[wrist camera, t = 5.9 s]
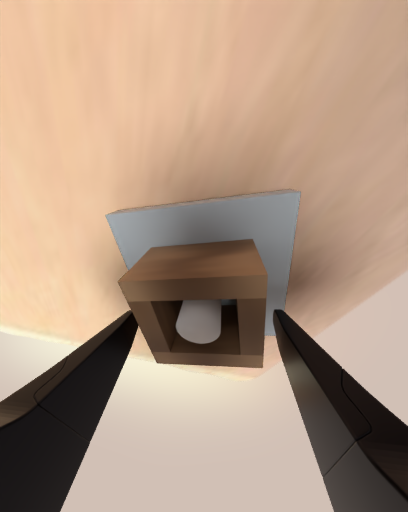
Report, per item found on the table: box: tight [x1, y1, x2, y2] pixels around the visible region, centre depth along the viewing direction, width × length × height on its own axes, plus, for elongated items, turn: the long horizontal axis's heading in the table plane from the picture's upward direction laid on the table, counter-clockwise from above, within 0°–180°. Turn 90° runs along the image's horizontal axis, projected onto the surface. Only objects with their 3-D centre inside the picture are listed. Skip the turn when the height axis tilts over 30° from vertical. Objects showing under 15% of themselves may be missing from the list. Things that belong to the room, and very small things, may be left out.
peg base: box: [105, 189, 301, 344], centre depth 11 cm, size 12×12×6 cm
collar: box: [118, 239, 268, 368], centre depth 10 cm, size 7×7×4 cm
